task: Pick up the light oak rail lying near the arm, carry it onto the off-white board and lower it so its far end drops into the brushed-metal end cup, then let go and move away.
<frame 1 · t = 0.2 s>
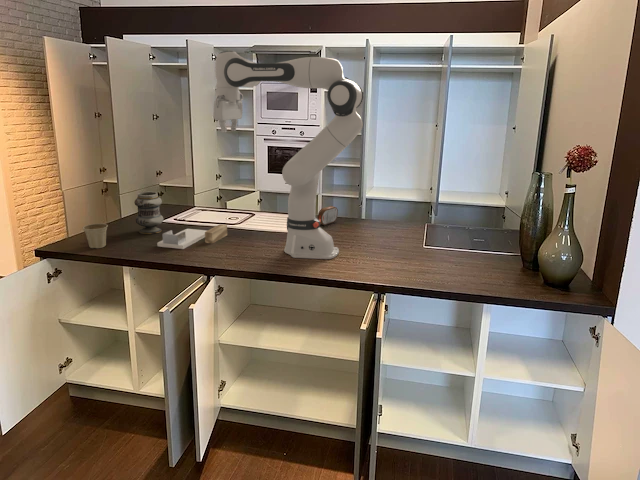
hand: (228, 131, 194), 47 cm above the worktop, tool pointing down, fingers open, 8 cm apart
bracket: (185, 239, 212), on the worktop
rail: (216, 239, 214), on the worktop
tin: (327, 223, 244), on the worktop
apothecary jar: (150, 231, 224), on the worktop
flower pot: (97, 246, 200), on the worktop
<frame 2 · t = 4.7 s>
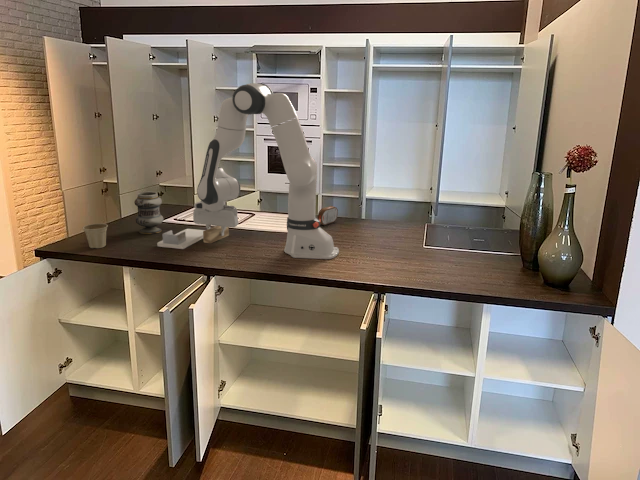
hand: (216, 235, 214), 2 cm above the worktop, tool pointing down, fingers closed on rail, 4 cm apart
rail: (216, 238, 214), on the worktop, touching gripper
everything else where it was.
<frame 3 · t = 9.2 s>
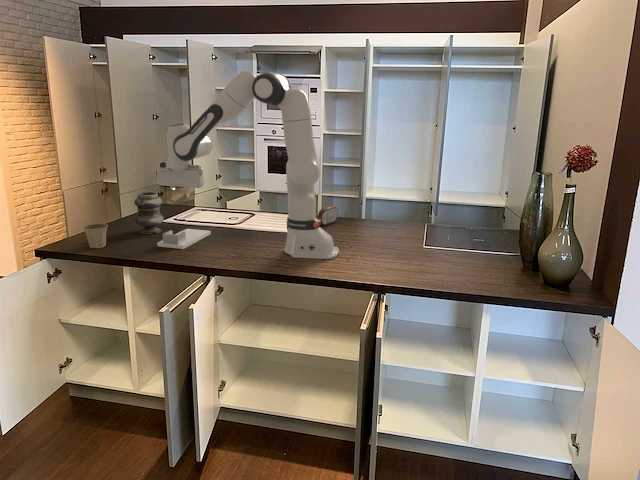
hand: (181, 196, 204), 20 cm above the worktop, tool pointing down, fingers closed on rail, 4 cm apart
rail: (181, 200, 205), point 18 cm above the worktop, touching gripper
everything else where it was.
when the fingers open (4 cm above the worktop, at t = 13.7 s): rail stays where it is, resting on bracket.
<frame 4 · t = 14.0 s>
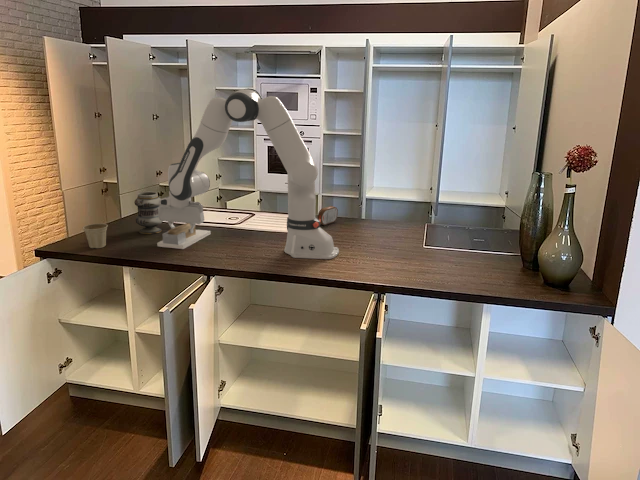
hand: (182, 232, 209), 4 cm above the worktop, tool pointing down, fingers open, 7 cm apart
rail: (182, 237, 209), point 1 cm above the worktop, touching bracket
everything else where it was.
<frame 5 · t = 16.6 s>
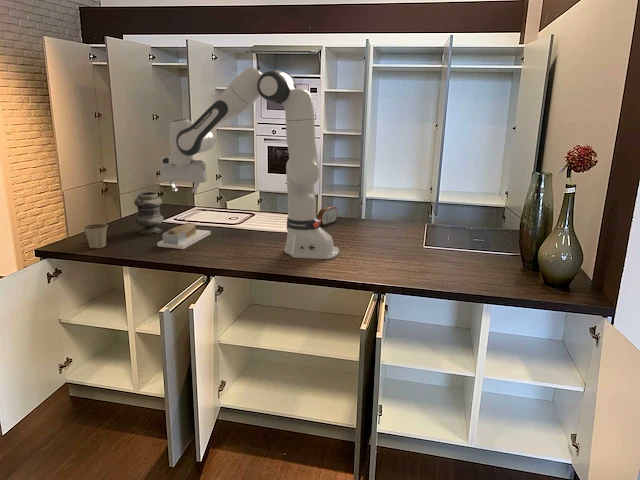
hand: (185, 192, 205), 21 cm above the worktop, tool pointing down, fingers open, 8 cm apart
nothing on the worktop moved.
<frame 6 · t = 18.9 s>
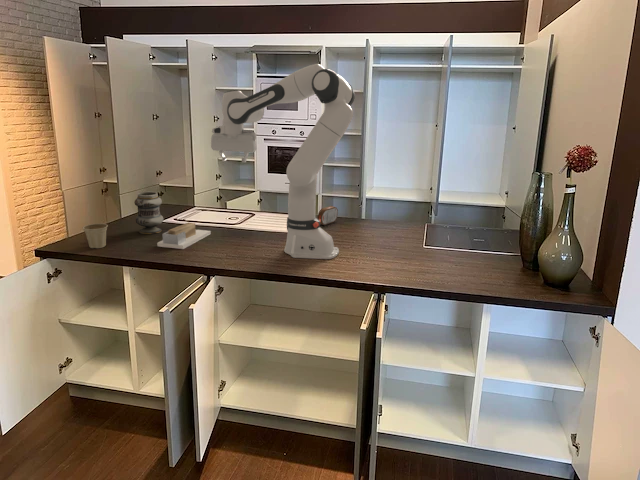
hand: (234, 161, 213), 33 cm above the worktop, tool pointing down, fingers open, 8 cm apart
nothing on the worktop moved.
at the end: rail 0.1 cm from the target spot on the bracket, point 1.5 cm above the bracket's base; rail tilted 0°; the gripper is holding nothing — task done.
